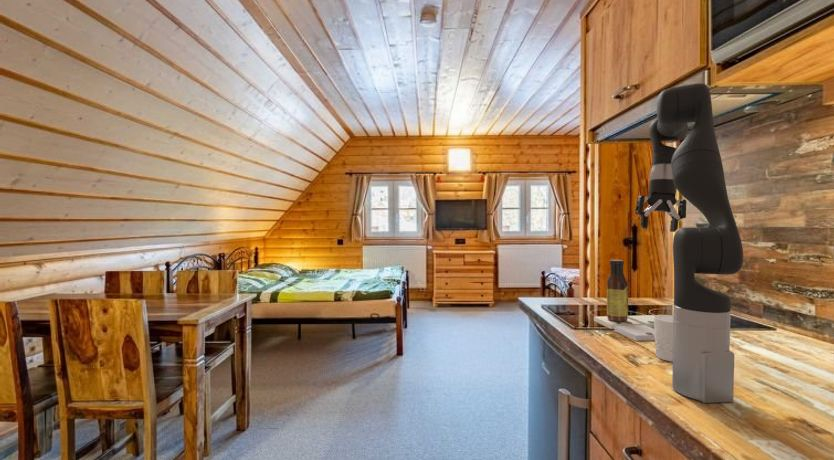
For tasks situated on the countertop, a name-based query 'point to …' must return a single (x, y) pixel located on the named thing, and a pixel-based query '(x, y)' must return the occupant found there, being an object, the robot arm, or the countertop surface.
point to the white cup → (664, 336)
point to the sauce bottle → (617, 293)
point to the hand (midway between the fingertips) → (658, 230)
